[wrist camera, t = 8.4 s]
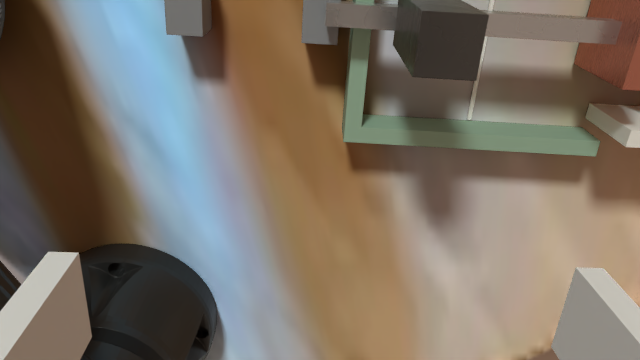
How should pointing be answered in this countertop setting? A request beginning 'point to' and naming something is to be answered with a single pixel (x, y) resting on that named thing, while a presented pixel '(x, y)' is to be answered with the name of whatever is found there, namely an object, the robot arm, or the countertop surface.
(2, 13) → the grey textured round piece
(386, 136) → the pitch
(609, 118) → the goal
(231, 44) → the countertop surface
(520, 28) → the kicker rod
